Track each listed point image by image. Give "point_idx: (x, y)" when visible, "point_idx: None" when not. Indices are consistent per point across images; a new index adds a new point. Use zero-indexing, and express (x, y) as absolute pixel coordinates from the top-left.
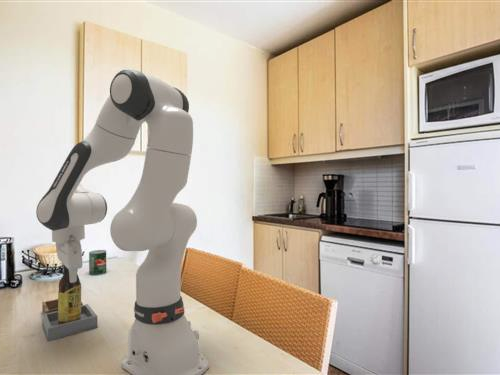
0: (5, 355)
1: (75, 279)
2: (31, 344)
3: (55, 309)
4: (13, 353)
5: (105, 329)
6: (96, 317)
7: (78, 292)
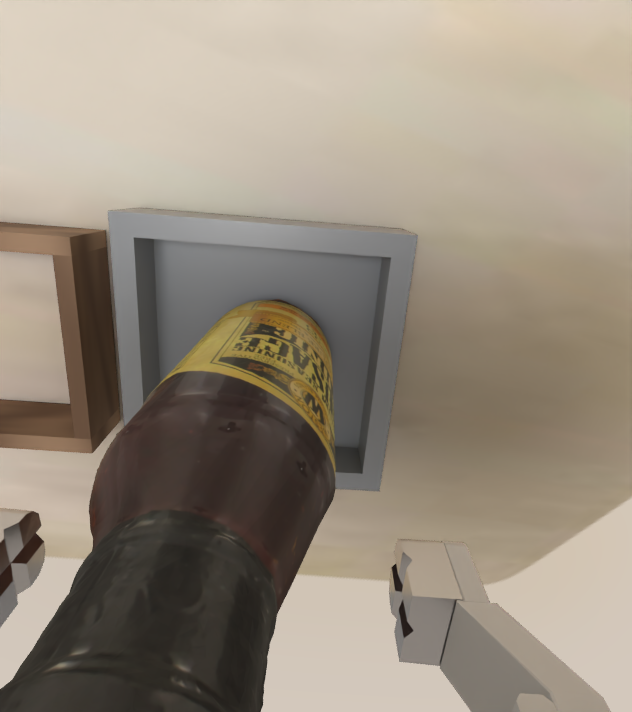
0: (376, 577)
1: (469, 570)
2: (349, 504)
3: (84, 406)
4: (381, 558)
5: (466, 201)
6: (415, 241)
7: (317, 397)
